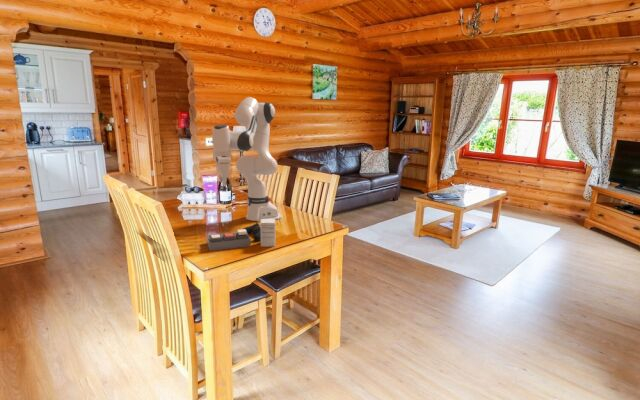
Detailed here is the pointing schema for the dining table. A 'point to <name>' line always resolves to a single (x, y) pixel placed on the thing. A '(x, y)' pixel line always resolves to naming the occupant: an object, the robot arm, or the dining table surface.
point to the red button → (229, 235)
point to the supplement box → (267, 232)
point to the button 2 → (242, 231)
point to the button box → (228, 241)
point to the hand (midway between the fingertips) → (223, 183)
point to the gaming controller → (254, 231)
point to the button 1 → (215, 236)
